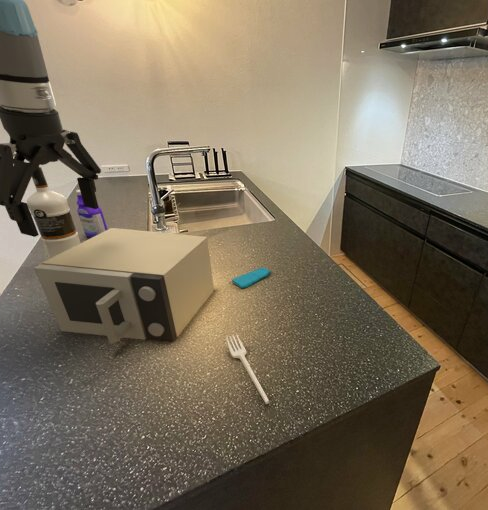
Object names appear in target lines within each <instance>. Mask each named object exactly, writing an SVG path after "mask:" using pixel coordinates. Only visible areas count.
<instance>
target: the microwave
mask: <svg viewBox="0 0 488 510" xmlns="http://www.w3.org/2000/svg"><path fill="white" fill-rule="evenodd" d="M208 241H209V240H208V237H207V236H203V235H202V236H199V235H191V234H181V233H169V232H161V231H160V232H157V231H150V230H149V231H147V230H137V229H129V228H128V229H127V228H117V227H110V228H107V230H106V231H104V232H102V233H100V234H98V235H96V236H94V237H92V238H90V237H89V239H87V240H84V241H82V242H81V243H80V244H78V245H76V246H74V247H72V248H70V249H68V250H66V251H64V252H62V253H60V254H58V255H56V256H55V257H53V258H51V259H49V260H48V259H46V260H44V261H43V262H41V264H44V265H54V266H64V267H74V268H84V269H94V270H105V271H115V272H125V273H133V275H132V276H131V280H132V284H133V287H134V291H135V295H136V298H137V302H138V306H139V309H140V313H141V317H142V320H143V324H144V328H145V331H146V335H147V338H146V339H147V340H153V341H162V342H172V343H173V342H175V340H176V339H178V337H179V336H180V334H181V333H182V332H183V331H184V329H185V328H186V327H187V326H188V324H189V323H190V322H191V320H192V319H193V318H194V316H196V314H197V313H198V312H199V310H200V309H201V308H202V306H203V305H204V304H205V303H206V301H207V300H208V299H209V297H210V296H211V295H212V293H213V292H214V291H215V287H214V279H213V272H212V271H213V270H212V265H211V264H212V263H211V258H210V257H211V256H210V249H209V242H208Z"/></svg>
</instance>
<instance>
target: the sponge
mask: <svg viewBox="0 0 488 510" xmlns="http://www.w3.org/2000/svg"><path fill="white" fill-rule="evenodd" d="M271 273H272V271H271V270H270V269H267V268H265V267H260V268H258V269H254V270H252V271H249V272H247V273H244V274H241V275H238V276H236V277H234V278H232V279H231V282H232V283H233V284H234V285H236V286H237V287H239V288H240V289H247V288H249V287H251V286H252V285H253V284H256V283H257V282H259V281H261V280H263V279H265V278H267V277H268V276H270V275H271Z"/></svg>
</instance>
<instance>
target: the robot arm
mask: <svg viewBox="0 0 488 510" xmlns="http://www.w3.org/2000/svg"><path fill="white" fill-rule="evenodd" d="M38 34H39V33H38V29H37V27H36V26H35V23H34V20H33V18H32V14H31V11H30V8H29V5H28V4H27V2H26V1H25V0H0V122H1V125H2V127H3V129H4V130H5V132H6V133H7V135H8V136H9V142H3V143H0V206H1V207H4V208H5V211H6V212H7V215H8V217H9V219H10V220H11V221H14V222H15V223H16V225H17V228H18V229H19V232H20V234H22V235H26V236H30V237H35V238H36V237H38V236H40V233H39V230H38V228H37V225H36V222H35V220H34V217H33V215H31V211H30V209H29V208H28V205H27V202H24V201H22V200H23V198H24V196H25V194H26V191H27V189H28V186H29V184H30V182H31V179H32V175H33V172H34V171H35V170H37V169H38V168H39V167H40V166H44V165H45V166H46V165H47V164H49V163H55V162H61V163H62V164H64V165H65V166H66V167H68V168H69V169H70V170H72V171H73V172H74V173H76V174H77V175H78V176H79V177H77V178H76V181H77V185H78V188H79V189H80V192H81V195H82V199H83V203H84V206H85V207H89V208H93V209H97V208H99V207H100V206H99V203H98V200H97V195H96V192H97V187H96V186H97V185H96V182H95V181H97V180H98V179H99V174H101V172H102V169H101V168H100V166H99V165H98V164H97V162H96V161H95V160H94V158H93V157H92V156H91V154H90V152H88V150H87V149H86V147H85V146H84V145H83V143H82V142H81V138H80V136H79V133H78V132H75V131H71V130H67V129H64V128H63V124H62V121H61V120H62V119H61V117H60V114H59V111H57V110H56V109H55V108H56V106H57V102H56V99H55V96H54V93H53V88H52V85H51V81H50V80H49V78H50V77H49V74H48V70H47V67H46V63H45V59H44V55H43V51H42V46H41V43H40V40H39V36H38ZM65 145H66V147H67V148H68V149H69V151H70V152H71V153H72V154H73V155H74V157H75V158H74V157H73V155H72V154H71V153H70V152H68V151H67V150H66V149H65V148H64V146H65ZM26 161H27V162H26ZM98 206H99V207H98Z"/></svg>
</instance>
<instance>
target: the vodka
mask: <svg viewBox="0 0 488 510" xmlns="http://www.w3.org/2000/svg"><path fill="white" fill-rule="evenodd" d="M31 179H32V181H33V185H34V186H35V192H34V193H32V194H31V195H30V196H29V197H28V198H27V200H26V203H27V205H28V208H29V210H30V213H31V216H32V218H33V221H34V223H35V226H36V228H37V231H38V233H39V236H40V240H41V241H42V243H43V246H44V248H45V251H46V255H47V260H49V259H51V258H53V257H55V256H56V255H58V254H60V253H62V252H64V251H66V250H68V249H70V248H72V247H74V246H76V245H78V244H80V243H82V242H81V240H80V237H79V232H78V231H77V229H76V225H75V223H74V219H73V217H72V214H71V209H70V207H69V203H68V199H67V198H66V197H65V196H64V195H63V194H62V193H60V192H59V193H58V192H56V191H53V190H50V188H49V185H48V182H47V179H46V176H45V173H44V171H43V168H42V167H41V166H39V168H38V169H37V170H35V171H34V172H33V175H32V177H31Z"/></svg>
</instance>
